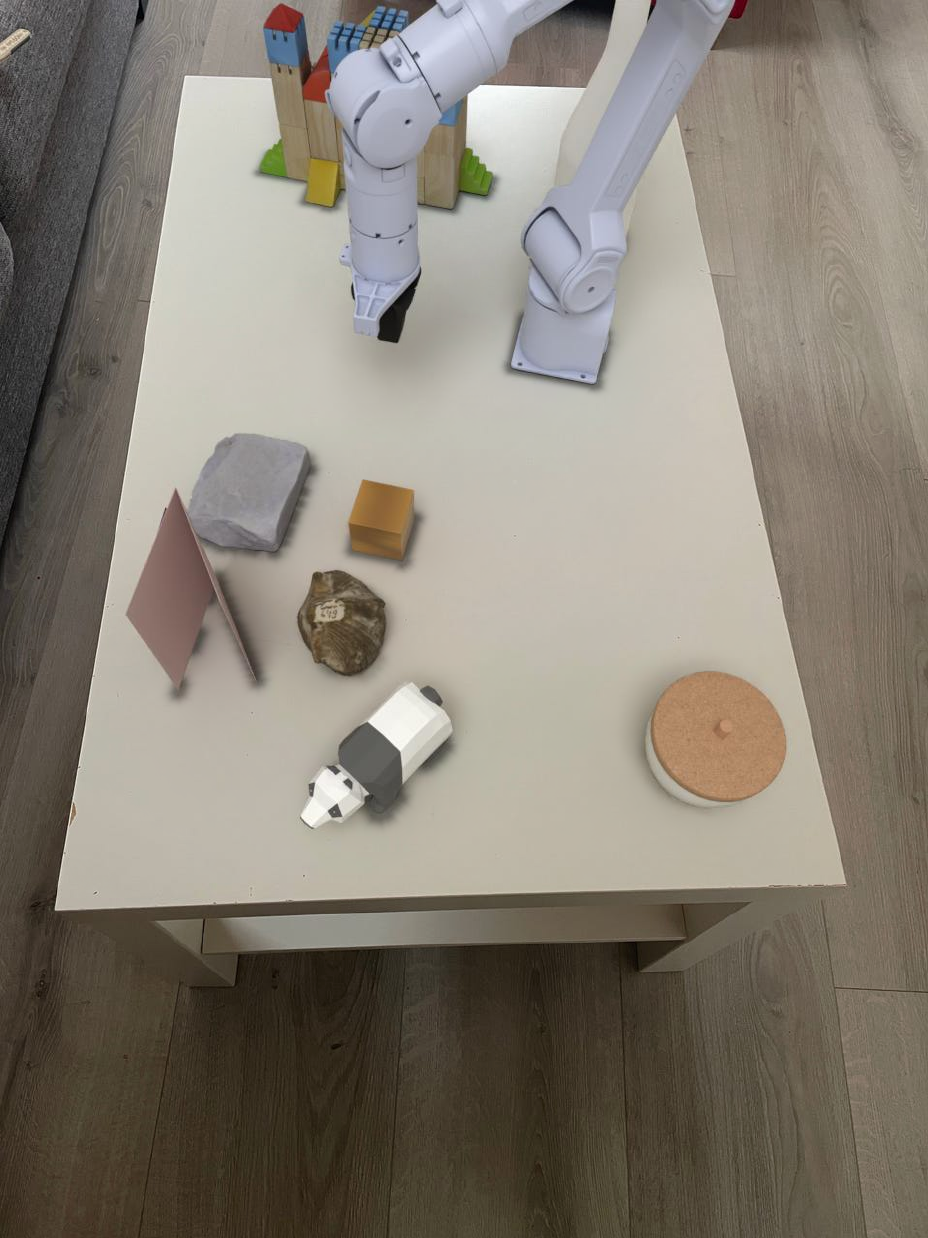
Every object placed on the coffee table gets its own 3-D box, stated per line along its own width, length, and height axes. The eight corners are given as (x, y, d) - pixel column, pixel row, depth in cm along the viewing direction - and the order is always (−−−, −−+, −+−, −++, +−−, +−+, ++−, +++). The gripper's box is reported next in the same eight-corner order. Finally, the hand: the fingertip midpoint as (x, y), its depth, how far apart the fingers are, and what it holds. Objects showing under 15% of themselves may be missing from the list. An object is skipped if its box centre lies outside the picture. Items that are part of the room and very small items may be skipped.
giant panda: (412, 698, 76) (411, 655, 68) (458, 738, 75) (463, 699, 66) (291, 819, 71) (273, 788, 62) (338, 865, 69) (325, 840, 61)
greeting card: (207, 577, 81) (164, 485, 67) (284, 591, 80) (256, 500, 67) (168, 688, 76) (113, 612, 62) (250, 703, 75) (212, 629, 62)
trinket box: (622, 707, 77) (646, 666, 68) (738, 700, 77) (776, 658, 69) (643, 827, 72) (672, 799, 63) (766, 817, 73) (811, 788, 64)
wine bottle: (530, 232, 103) (568, -51, 76) (584, 199, 106) (639, -85, 80) (586, 276, 101) (646, -3, 74) (640, 240, 104) (716, -40, 77)
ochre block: (414, 518, 85) (414, 489, 80) (402, 561, 82) (401, 533, 78) (365, 508, 85) (362, 478, 80) (352, 550, 83) (348, 522, 78)
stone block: (192, 549, 84) (285, 558, 82) (170, 520, 80) (268, 528, 77) (232, 457, 89) (321, 462, 87) (214, 425, 85) (306, 430, 83)
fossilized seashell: (304, 562, 79) (277, 665, 76) (332, 546, 73) (304, 656, 71) (375, 588, 82) (352, 688, 80) (407, 575, 77) (383, 681, 74)
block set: (498, 161, 109) (512, -4, 92) (473, 235, 103) (483, 73, 85) (286, 121, 111) (261, -49, 93) (249, 191, 104) (215, 23, 87)
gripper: (358, 150, 74) (367, 276, 86) (311, 267, 67) (329, 385, 80) (438, 164, 73) (436, 289, 86) (398, 282, 67) (402, 399, 79)
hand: (389, 336), depth 83 cm, fingers closed
